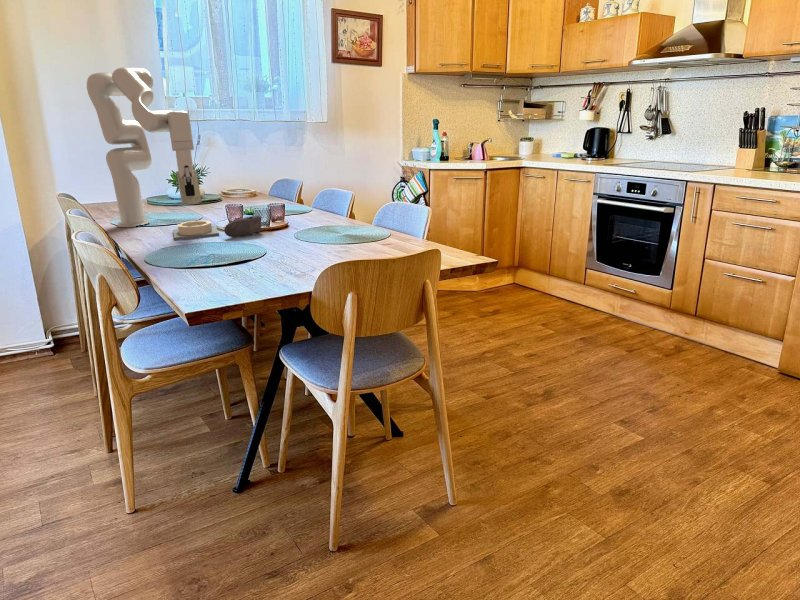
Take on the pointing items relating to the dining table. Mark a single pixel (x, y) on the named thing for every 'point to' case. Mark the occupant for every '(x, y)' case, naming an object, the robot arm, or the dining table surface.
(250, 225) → the perforated stone tool
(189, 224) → the collar board
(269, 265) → the dining table surface
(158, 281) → the dining table surface
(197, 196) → the skincare box
